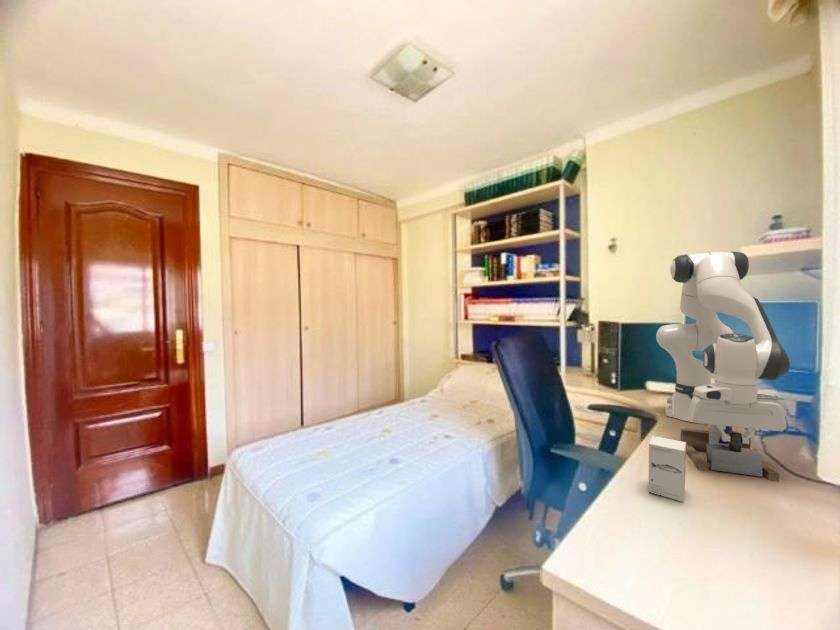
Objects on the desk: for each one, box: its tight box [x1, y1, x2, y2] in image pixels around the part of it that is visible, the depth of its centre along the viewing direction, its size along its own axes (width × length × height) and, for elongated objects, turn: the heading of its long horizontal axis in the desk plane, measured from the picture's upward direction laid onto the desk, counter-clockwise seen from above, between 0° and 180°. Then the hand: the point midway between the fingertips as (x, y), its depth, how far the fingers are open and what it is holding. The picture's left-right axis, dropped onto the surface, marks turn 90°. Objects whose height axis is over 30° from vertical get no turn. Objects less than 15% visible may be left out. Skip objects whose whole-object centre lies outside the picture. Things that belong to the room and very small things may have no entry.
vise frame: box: [680, 427, 780, 482], centre depth 104 cm, size 18×17×6 cm
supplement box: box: [647, 435, 687, 503], centre depth 88 cm, size 7×7×13 cm
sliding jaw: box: [705, 430, 764, 477], centre depth 98 cm, size 4×11×11 cm, turn 67°
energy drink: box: [708, 424, 733, 446], centre depth 107 cm, size 5×5×12 cm
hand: (735, 442), depth 97 cm, fingers closed on sliding jaw, 3 cm apart
